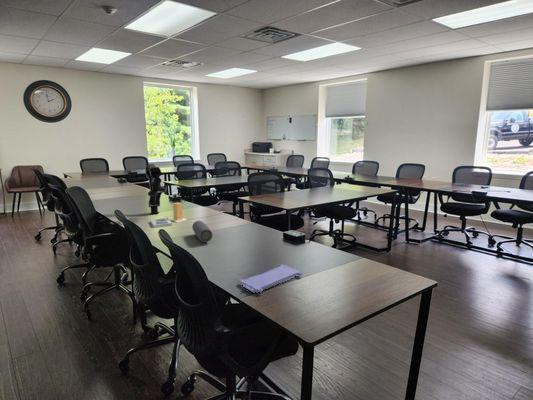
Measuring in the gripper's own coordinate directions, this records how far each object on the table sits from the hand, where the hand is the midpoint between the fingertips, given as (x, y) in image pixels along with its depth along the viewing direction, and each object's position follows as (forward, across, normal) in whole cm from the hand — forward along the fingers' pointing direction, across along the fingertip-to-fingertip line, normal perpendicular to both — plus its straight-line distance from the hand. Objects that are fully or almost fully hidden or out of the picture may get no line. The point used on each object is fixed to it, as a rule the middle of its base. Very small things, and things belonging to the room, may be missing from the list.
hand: (156, 202), depth 267 cm
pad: (+13, -6, -19) cm, 24 cm away
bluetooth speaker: (+13, -51, -49) cm, 72 cm away
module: (+12, -6, -19) cm, 23 cm away
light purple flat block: (+14, -111, -96) cm, 148 cm away
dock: (+13, -17, -9) cm, 23 cm away
